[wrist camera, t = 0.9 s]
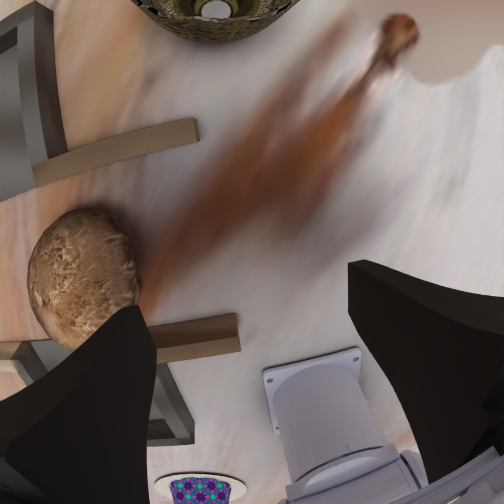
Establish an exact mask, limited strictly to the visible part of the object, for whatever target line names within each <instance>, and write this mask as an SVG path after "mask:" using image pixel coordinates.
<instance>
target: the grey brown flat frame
mask: <svg viewBox="0 0 504 504" xmlns="http://www.w3.org/2000/svg"><path fill="white" fill-rule="evenodd" d="M198 141H200V139H199V133H198V128H197V122H196V119H195V118H193V117H191V118H186V119H182V120H177V121H173V122H168V123H164V124H160V125H156V126H152V127H148V128H144V129H140V130H137V131H133V132H129V133H126V134H122V135H119V136H116V137H112V138H109V139H106V140H103V141H99V142H96V143H93V144H90V145H87V146H84V147H81V148H78V149H76V150H73V151H70V152H67V147H66V142H65V137H64V131H63V125H62V119H61V112H60V106H59V98H58V90H57V81H56V70H55V57H54V38H53V11H51V10H50V9H48V8H47V7H45V6H43V5H42V4H40V3H38V2H37V1H33V2H31V3H29V4H27V5H26V6H24V7H22V8H21V9H19V10H17V11H16V12H14V13H12V14H11V15H9V16H8V17H6V18H5V19H3V20H2V21H0V202H1V201H4V200H6V199H8V198H11V197H13V196H16V195H18V194H20V193H23V192H25V191H28V190H30V189H33V188H38V187H40V186H43V185H46V184H48V183H51V182H54V181H57V180H60V179H62V178H65V177H68V176H71V175H74V174H77V173H80V172H83V171H86V170H90V169H93V168H96V167H99V166H103V165H106V164H109V163H113V162H116V161H120V160H124V159H127V158H131V157H135V156H138V155H142V154H146V153H150V152H154V151H158V150H163V149H167V148H171V147H176V146H180V145H185V144H190V143H194V142H198ZM147 328H148V331H149V333H150V335H151V338H152V340H153V342H154V345H155V347H156V349H157V370H156V380H155V386H154V392H153V398H152V404H151V410H150V416H149V423H148V430H147V447H155V446H176V445H190V444H195V422H194V420H193V418H192V416H191V414H190V412H189V410H188V408H187V406H186V404H185V402H184V400H183V398H182V396H181V394H180V392H179V390H178V388H177V386H176V384H175V381H174V379H173V377H172V375H171V373H170V370H169V368H168V366H167V364H166V363H167V362H175V361H182V360H189V359H196V358H203V357H209V356H215V355H221V354H227V353H233V352H239V351H241V346H240V339H239V332H238V326H237V321H236V317H235V313H232V314H227V315H221V316H216V317H210V318H204V319H198V320H192V321H186V322H180V323H174V324H167V325H161V326H154V327H147ZM71 353H72V352H71V351H69V350H67V349H65V348H63V347H62V346H60V345H59V344H57V343H56V342H54V341H53V340H52V339H45V340H33V341H20V342H5V343H0V371H17V372H18V374H19V375H20V377H21V378H22V380H23V381H24V382H25V384H26V385H27V386H29V385H30V384H32V383H33V382H35V381H36V380H38V379H40V378H41V377H42V376H44V375H45V374H47V373H48V372H49V371H51V370H52V369H53V368H55V367H56V366H57V365H58V364H60V363H61V362H62V361H63V360H65V359H66V358H67V357H68V356H69V355H70V354H71Z"/></svg>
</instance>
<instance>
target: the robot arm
mask: <svg viewBox="0 0 504 504" xmlns="http://www.w3.org/2000/svg"><path fill="white" fill-rule="evenodd" d="M348 313H349V315H350V317H351V320H352V322H353V324H354V326H355V328H356V330H357V332H358V334H359V336H360V337H361V339H362V340H363V342H364V343H365V345H366V346H367V348H368V349H369V351H370V352H371V354H372V355H373V357H374V358H375V360H376V361H377V363H378V364H379V366H380V367H381V369H382V370H383V372H384V374H385V375H386V377H387V378H388V380H389V382H390V383H391V385H392V387H393V389H394V391H395V393H396V395H397V397H398V399H399V401H400V403H401V405H402V408H403V410H404V412H405V415H406V417H407V419H408V422H409V424H410V427H411V429H412V432H413V435H414V437H415V440H416V443H417V446H418V449H419V452H420V454H419V453H417V452H413V451H410V450H408V449H407V450H404V451H402V452H401V453H398V451H397V449H396V447H395V445H394V443H391V444H389V443H388V441H387V439H386V437H385V435H384V433H383V431H382V429H381V427H380V425H379V423H378V421H377V419H376V417H375V415H374V413H373V411H372V409H371V407H370V405H369V403H368V401H367V399H366V398H365V396H364V394H363V392H362V390H361V388H360V386H359V384H358V383H359V375H360V366H361V356H362V351H361V350H360V348H352V349H349V350H345V351H342V352H338V353H334V354H331V355H327V356H323V357H319V358H315V359H311V360H307V361H303V362H298V363H294V364H290V365H285V366H280V367H276V368H271V369H267V370H265V371H263V373H262V376H263V381H264V386H265V391H266V396H267V401H268V406H269V411H270V416H271V421H272V425H273V430H274V434H275V435H276V436H280V435H281V440H282V444H283V448H284V452H285V456H286V461H287V465H288V469H289V473H290V477H291V481H292V484H290V485H287V486H286V487H285V488H286V492H287V497H288V498H285V499H282V500H281V501H280V502H279V503H278V504H447V503H448V502H450V501H452V500H454V499H456V498H457V497H459V496H460V495H461V496H460V497H459V499H457V500H456V501H454V502H453V503H451V504H504V297H496V296H488V295H481V294H475V293H469V292H464V291H460V290H456V289H451V288H447V287H444V286H440V285H437V284H434V283H431V282H427V281H424V280H421V279H419V278H416V277H413V276H410V275H407V274H405V273H402V272H399V271H397V270H394V269H391V268H389V267H386V266H383V265H381V264H378V263H375V262H372V261H368V260H364V259H363V260H359V261H355V262H350V263H348ZM355 357H356V358H355ZM156 370H157V349H156V347H155V345H154V342H153V340H152V338H151V335H150V333H149V331H148V328H147V326H146V323H145V321H144V318H143V316H142V313H141V311H140V308H139V306H138V305H133V306H127V307H122V308H121V309H119V310H118V311H117V312H115V313H114V314H113V315H112V316H111V317H110V318H109V319H108V320H107V321H106V322H104V323H103V324H102V325H101V326H100V327H99V328H98V329H97V330H96V331H95V332H94V333H93V334H92V335H91V336H90V337H89V338H88V339H87V340H86V341H85V342H83V343H82V344H81V345H80V346H79V347H78V348H77V349H76V350H75V351H73V352H72V353H71V354H70V355H69V356H68V357H67V358H66V359H65V360H63V361H62V362H61V363H60V364H58V365H57V366H56V367H55V368H53V369H52V370H51V371H49V372H48V373H47V374H45V375H44V376H42V377H41V378H40V379H38V380H36V381H35V382H33V383H32V384H30V385H29V386H27V387H25V388H24V389H22V390H21V391H19V392H17V393H15V394H14V395H12V396H10V397H8V398H6V399H4V400H2V401H0V504H150V501H149V492H148V480H147V430H148V423H149V416H150V410H151V404H152V398H153V392H154V386H155V380H156ZM268 379H270V380H268Z"/></svg>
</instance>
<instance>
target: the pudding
mask: <svg viewBox="0 0 504 504" xmlns="http://www.w3.org/2000/svg"><path fill="white" fill-rule="evenodd" d="M185 477H187V478H185ZM195 477H209V478H200V479H199V478H195ZM179 478H183V479H182V480H176V479H179ZM214 478H216V479H214ZM217 479H220V480H223V481H226V482H223V481H218V480H217ZM173 480H175V481H173ZM171 481H172V482H171ZM170 482H171V483H170ZM227 482H228V483H227ZM169 483H170V484H171V487H170V488H169ZM229 483H230V484H231V485H232V488H233V489H232V491H231V488H229V486H230V485H229ZM155 489H156V491H157V492H158V493H159V494H161V495H162V496H164V497H166V498H169V499H171V500H173V501H174V504H229V501H232V500H235V499H238V498H240V497H241V496H243V495H244V494H245V492H246V486H245V485H244V484H243V483H241V482H239V481H237V480H235V479H232V478H228V477H223V476H217V475H207V474H182V475H173V476H169V477H165V478H162V479H160V480H158V481H157V482H156V483H155Z"/></svg>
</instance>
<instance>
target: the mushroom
mask: <svg viewBox="0 0 504 504" xmlns="http://www.w3.org/2000/svg"><path fill="white" fill-rule="evenodd" d="M137 277H138V275H137V270H136V265H135V260H134V255H133V249H132V245H131V242H130V241H129V239H128V237H127V236H126V234H125V233H124V231H123V229H122V228H121V226H120V225H119V223H118V221H116V220H115V219H113V218H112V217H110V216H108V215H107V214H105V213H104V212H102V211H100V210H99V209H96V208H86V209H78V210H73V211H70V212H67V213H66V214H64V215H62V216H61V217H60V218H59V219H57V220H56V221H55V222H54V223H53V224H52V225H51V226H49V227H48V228H47V229H46V230H45V231H44V233H43V234H42V236H41V237H40V239H39V241H38V242H37V244H36V246H35V248H34V250H33V253H32V255H31V258H30V261H29V265H28V277H27V288H28V293H29V299H30V304H31V307H32V310H33V312H34V314H35V316H36V318H37V321H38V322H39V324H40V325H41V327H42V328H43V329H44V331H45V332H46V334H47V335H48V337H49V338H51V339H52V340H53V341H54V342H56V343H57V344H59V345H60V346H62V347H63V348H65V349H67V350H69V351H71V352H73V351H75V350H76V349H77V348H78V347H79V346H80V345H81V344H82V343H83V342H85V341H86V340H87V339H88V338H89V337H90V336H91V335H92V334H93V333H94V332H95V331H96V330H97V329H98V328H99V327H100V326H101V325H102V324H103V323H104V322H106V321H107V320H108V319H109V318H110V317H111V316H112V315H113V314H114V313H115V312H117V311H118V310H119V309H121V308H122V307H127V306H133V305H137V304H138V302H139V299H140V295H141V292H140V287H139V284H138V283H137Z"/></svg>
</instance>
